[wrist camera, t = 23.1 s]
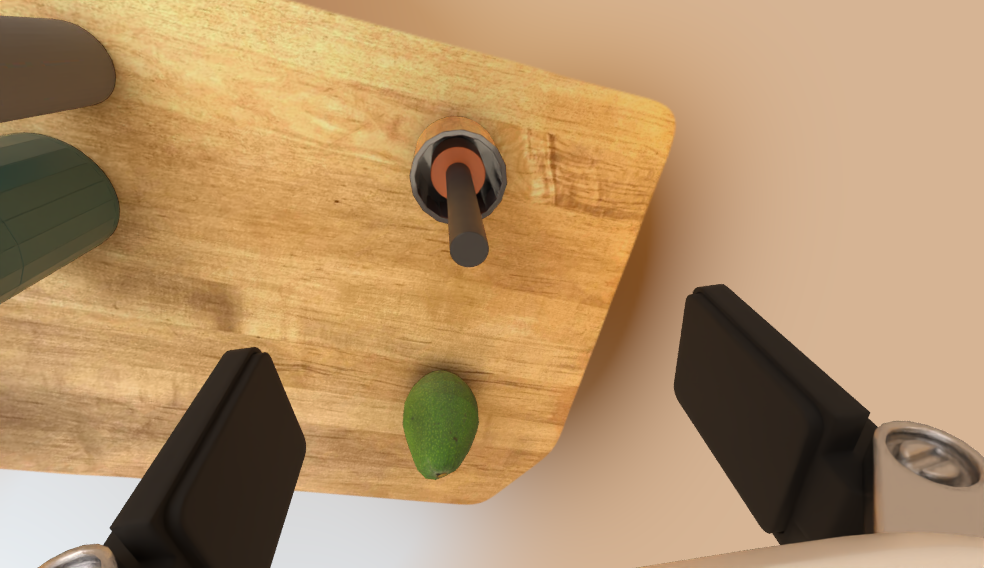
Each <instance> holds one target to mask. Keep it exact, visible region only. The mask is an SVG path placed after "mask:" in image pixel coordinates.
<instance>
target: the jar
mask: <svg viewBox="0 0 984 568" xmlns="http://www.w3.org/2000/svg"><path fill="white" fill-rule="evenodd" d="M118 220H119V203H118V199H117V195H116V193H115V190H114V188H113V186H112V184H111V183H110V181H109V179H108V178H107V177H106V175H105V174H104V173H103V171H102V170H101V169H100V168H99V167H98V166H97V165H96V164H95V163H94V162H93V161H92V160H91V159H90V158H88V157H87V156H86V155H85V154H83V153H82V152H80V151H79V150H77V149H76V148H74V147H72V146H70V145H69V144H67V143H65V142H62V141H60V140H58V139H55V138H52V137H49V136H45V135H41V134H35V133H14V134H8V135H0V304H1V303H3V302H5V301H6V300H8V299H10V298H11V297H13V296H15V295H16V294H18V293H20V292H21V291H23V290H25V289H26V288H28V287H30V286H31V285H33V284H35V283H36V282H38V281H40V280H41V279H43V278H45V277H46V276H48V275H50V274H51V273H53V272H55V271H56V270H58V269H60V268H61V267H63V266H65V265H67V264H68V263H70V262H72V261H73V260H75V259H77V258H78V257H80V256H82V255H83V254H85V253H87V252H88V251H90V250H92V249H93V248H95V247H97V246H98V245H100V244H102V243H103V242H104V241H105V240H106V239H108V238H109V237H110V236H111V235H112V233H113V232H114V230H115V229H116V226H117V224H118Z"/></svg>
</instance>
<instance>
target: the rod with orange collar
mask: <svg viewBox="0 0 984 568" xmlns="http://www.w3.org/2000/svg"><path fill="white" fill-rule="evenodd" d="M485 175H486V174H485V167H484V164H483V161H482V158H481V155H480V153H479V151H478V149H477V148H476V146H475V145H474V144H473V143H471V142H470V141H468V140H466V139H464V138H458V137H454V138H449V139H446V140H444V141H443V142H441V143H440V144H439V145H438V146H437V147H436V149H435V150H434V152H433V155H432V159H431V180H432V183H433V186H434V187H435V189H436V190H437V192H438V193H439V194H441V195H442V196H443V197H445V198H447V207H448V225H449V244H450V254H451V257H452V259H453V260H454V261H455V262H456V263H457V264H459V265H461V266H464V267H474V266H477V265H479V264H481V263H482V262H483V261H484V260H485V259H486V257H487V255H488V252H489V246H488V242H487V238H486V234H485V229H484V225H483V221H482V217H481V213H480V209H479V205H478V201H477V197H476V194H477V193H478V192H479V191H480V190H481V188H482V186H483V184H484V181H485Z"/></svg>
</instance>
